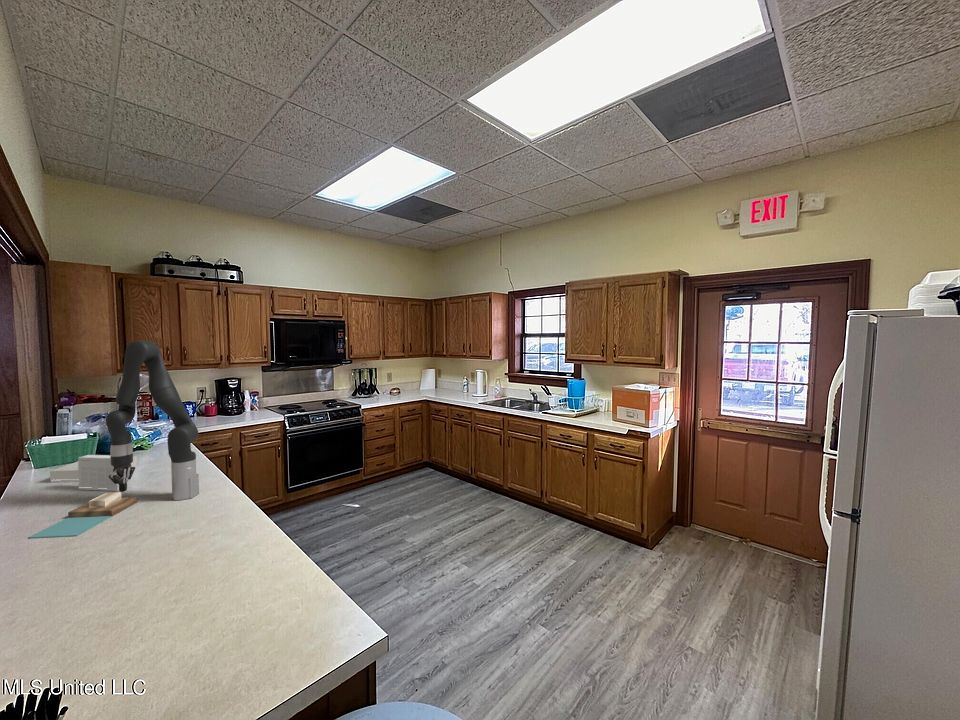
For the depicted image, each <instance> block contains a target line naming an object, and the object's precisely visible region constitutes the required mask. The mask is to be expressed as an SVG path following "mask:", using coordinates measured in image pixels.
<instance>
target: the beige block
mask: <svg viewBox="0 0 960 720" xmlns="http://www.w3.org/2000/svg"><path fill="white" fill-rule="evenodd" d="M122 498H123V497H122V492H120V491H114V492H104V493H103V494H100V495H99V496H97V497H94V498H93V499H91V500H89V501H88V503H89V508H105V507H107V506H109V505H111V504H113V503H115V502H117V501H119V500H121V499H122Z"/></svg>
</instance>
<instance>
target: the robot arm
mask: <svg viewBox="0 0 960 720" xmlns="http://www.w3.org/2000/svg"><path fill="white" fill-rule="evenodd" d="M143 364H144V366H145V367H146V370H147V373H148V391H149V393H150V395H151V397H152V400H153V401H154V403H155V405H156V406H157V407H158V408H159V409H160V410H161V411H162V412H163V413H165V414H166V415H167V416H168V417H169V418H170V420H171V422H172V423H173V426H174V428H172V429H171V430H170V431H169V432H168V435H167V452H168V457H169V458H170V461H171V462H170V464H171V465H170V468H171V497H172V500H173V501H183V500H189V499H193V498H195V497H196V496H197V495H199V494H200V481H199V480H200V479H199V475H200V474H199V473H197V453H196V452H195V451H192V447H191V444H192V443H194V442H195V441H197V439H198V438H199V430H198V428H197V425H196V423H194V421H193V419H192V418H191V416H190V414H189V413H188V411H187V410H186V407H185V405H184V403H183V401H182V399H181V397H180V394H179V392H178V390H177V388H176V386H175V384H174V382H173V380H172V377H171V375H170V373H169V371H168V370H167V367H166V365H165V362H164V359H163V356H162V352H161V350H160V347H159V346H158V344H156V343H155V342H154V341H151V340H142V339H141V340H133V341H131V342H129V343H128V345H127V346H126V349H125V354H124V364H123V371H122V375H121V376H122V377H121V381H120V385H119V388H118V391H117V395H116V397H115V403H116V404H117V405H118V408H117V409H116V410H112V411H111V412H109V413H108V414H107V415H106V417H105V425H106V428H107V430H108V433H109V435H110V451H109V453H110V456H111V465H112V466H113V467H114V469H113V474H112V475H109V478H110V479H111V480H112V481H113V483H114V484H119V491H118V492H121V493H124V492H127V490H128V482H129V480H131V479H132V478H133V477H132V476H133V475H134V472H135V470H136V467H132V466H131V463H132V462H133V456H134V451H133V442H132V432H131V431H130V429H127V428H126V424H130V423H131V422H133V420H134V418H135V416H136V409H137V407H136V406H137V405H136V402H137V399H138V397H139V394H140V391H141V380H140V379H141V378H140V375H141V374H140V371H141V368H142V366H143Z"/></svg>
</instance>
